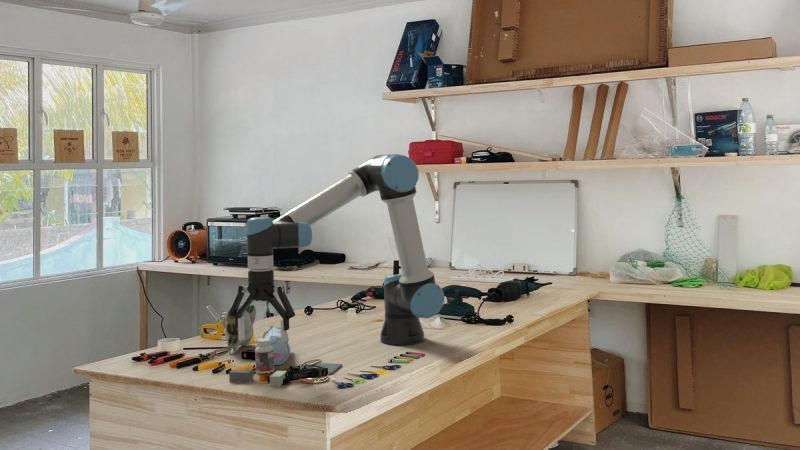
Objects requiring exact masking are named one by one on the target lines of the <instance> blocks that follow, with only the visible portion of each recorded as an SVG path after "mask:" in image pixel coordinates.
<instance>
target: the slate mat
mask: <svg viewBox="0 0 800 450" xmlns="http://www.w3.org/2000/svg"><path fill="white" fill-rule="evenodd" d="M318 363H319V364H318V366H321V367H325V368H328V373H329V374H328V375H330V374H332V375H333V374H334V373H335V372H337V371H338V370H339V369H340V368H342V367H343V364H342V363H331V362H330V363H329V362H327V363H325V362H318Z"/></svg>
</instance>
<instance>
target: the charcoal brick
mask: <svg viewBox="0 0 800 450" xmlns="http://www.w3.org/2000/svg"><path fill="white" fill-rule="evenodd" d="M228 373H229V382H230V383H251V382H252V381H253V380H254V370H253V369H232V370H231V371H229V372H228Z"/></svg>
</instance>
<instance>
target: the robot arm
mask: <svg viewBox="0 0 800 450" xmlns="http://www.w3.org/2000/svg"><path fill="white" fill-rule="evenodd" d="M419 176H420V175H419V169H418V166H417V164H416V163H415V161H413V159H412V158H410V157H408V156H406V155H404V154H397V153H396V154H395V153H393V154H392V153H391V154H378V155H376V156H373V157H370V158H369V159H367V160H366V161H364V162H362V163H361V164H360V165H357V166H356V167H355V168H353V169H352V170H349V172H348V173H347V176H346V177H344V178H342V179H341V180H339V181H337V182H336V183H334V184H333V185H331V186H329V187H327V188H326V189H324V190H322V191H321V192H319V193H317V194H316V195H314V196H312V197H311V198H309V199H308V200H306V201H305V202H303V203H301V204H299V205H297V206H296V207H294V208H293V209H291V210H289V211H288V212H286V213H284V214H283V215H281V216H279V217H277V218H276V219H275V218H273V219H272V217H267V216H264V217H263V216H261V217H260V216H259V217H257V216H256V217H250V218H249V219H248V220H247V222H246V234H245V235H246V244H247V245H246V246H247V249H246V250H247V269H248V271H247V282H248V285H245V284H240V285H239V286H238V288H237V294H236V297H235V299H234V301H233V304H232V306H230V308H231V310H230V312H229V315H230V316H233V317H235V323H236V324H235V325H236V328H238V338H239V340H242V339H244V338H245V330H244V317H241V316H242V315H243V313H244V312H245V311H246V309H247V308H248V307H249V306H251V305H252V303H253V302H254V301H255V302H259V301H262V302H268V303H269V304H270V305H271V306H272V307H273V308H274V309H275V311H276V312H277V314H278V315H280V317H281V318H282V319H280V327H281V342H284V341H286V340H287V334H288V332H287V331H288V330H290V319H291V318H293V317H295V316H296V312H295V310H294V308H293V307H292V304H291V302H290V300H289V299H288V296H287V294H286V291H285V286H284V285H279V286H275V284H274V282H275V277H274V276H275V271H274V270H273V268H274V249H276V250H277V249H290V248H291V249H292V248H299V249H300V248H305V247H308V246H310V245H311V244H312V240H313V232H312V230H313V229H312V227H311V226H313V225H314V224H316V223H318V222H319V221H321V220H323V219H324V218H326V217H327V216H330V214H332V213H335V212H336V211H337V210H339V209H341V208H342V207H344V206H346V205H347V204H349V203H351V201H354V200H355V199H358V198H359V197H362V198H364V197H366V196H368V195H369V194H372V193H375V192H379V195H380V196H379V197H380V200H381V202H383V203H385V204H386V206H387V210H388V211H387V212H388V216H389V219H390V223H391V229H392V233H393V238H394V243H395V247H396V248H395V249H396V252H397V257H398V262H399V265H400V270H401V273H399V274H398V273H397V274H388V275H386V276H385V277H384V278H383V297H384V299H383V300H384V301H383V302H384V321H383V325H382V328H381V331H380V335H379V336H380V342H381V343H383V344H387V345H395V346H404V345H405V346H407V345H414V344H418V343H422V342H424V341H425V331H424V329H423V326H422V323H421V321H420V319H430V318H433V317H435V316H436V315H438V314H439V313H440V311H441V309H442V308H443V307H444V304H445V293H444V290H443V289H442V288H441V286H440V285H438V284H437V283H436V279H435V274H434V272H433V271H431V270H429V268H428V264H427V263H428V262H427V258H426V254H425V250H424V244H423V239H422V235H421V231H420V226H419V221H418V220H419V219H418V215H417V212H416V211H417V210H416V206H415V202H414V197H415V196H416V194H417V188H416V185H417V183H418V181H419V179H420V178H419ZM247 292H248V293H249V296H247V298H246V300H244V303H243V304H242V305H241V303H242V301H243V298H244V296H245V293H247ZM275 292H276V294H277V295H278V297H279V300H280V302H281V303H280V302H279V300H278V299H277V297H276V296H275V295H274V293H275ZM239 305H240V306H241V308H240V309H239V310H238V308H239ZM237 310H238V312H237Z"/></svg>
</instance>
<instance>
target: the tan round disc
mask: <svg viewBox="0 0 800 450" xmlns="http://www.w3.org/2000/svg"><path fill="white" fill-rule="evenodd" d="M328 377H330V376H329V374H327V376H326V378H325V377H324V379H320V380H319V381H324V380H326V379H327V378H328ZM315 379H317V378H306V379H301V378H300V382H302V383H303V384H313V382H314V381H315ZM316 381H318V380H316Z"/></svg>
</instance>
